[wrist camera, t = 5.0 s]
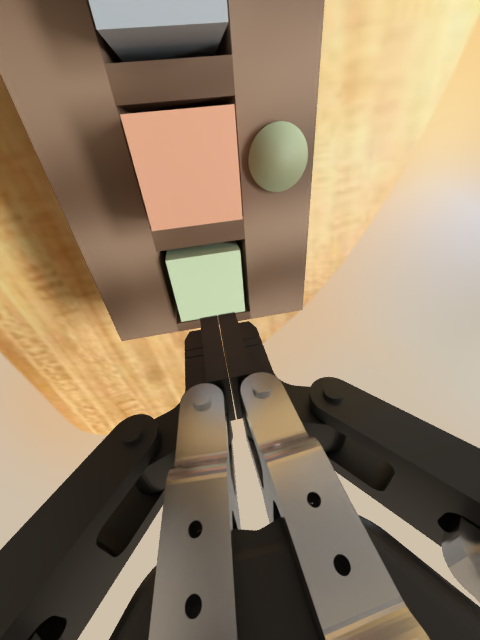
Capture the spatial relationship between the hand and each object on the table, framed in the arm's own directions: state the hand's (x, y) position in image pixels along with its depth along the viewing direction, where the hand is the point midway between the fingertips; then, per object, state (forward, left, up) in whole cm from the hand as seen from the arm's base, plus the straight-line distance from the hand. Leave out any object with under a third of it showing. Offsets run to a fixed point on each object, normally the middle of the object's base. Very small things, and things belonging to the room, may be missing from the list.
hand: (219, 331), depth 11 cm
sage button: (0, 0, -9) cm, 9 cm away
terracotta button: (-6, 0, -7) cm, 9 cm away
